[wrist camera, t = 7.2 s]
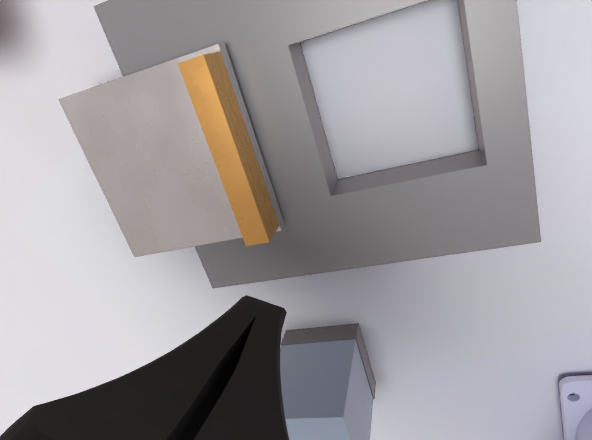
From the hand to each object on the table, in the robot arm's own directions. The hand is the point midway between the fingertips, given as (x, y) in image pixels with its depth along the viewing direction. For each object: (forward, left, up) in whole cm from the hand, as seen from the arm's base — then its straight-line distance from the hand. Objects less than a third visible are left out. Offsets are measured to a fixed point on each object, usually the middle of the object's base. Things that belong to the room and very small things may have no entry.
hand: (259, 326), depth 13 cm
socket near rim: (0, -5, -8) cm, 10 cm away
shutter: (+4, +4, -6) cm, 9 cm away
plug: (-8, +1, -8) cm, 12 cm away
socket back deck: (+5, +2, -8) cm, 10 cm away
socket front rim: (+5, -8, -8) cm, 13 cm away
